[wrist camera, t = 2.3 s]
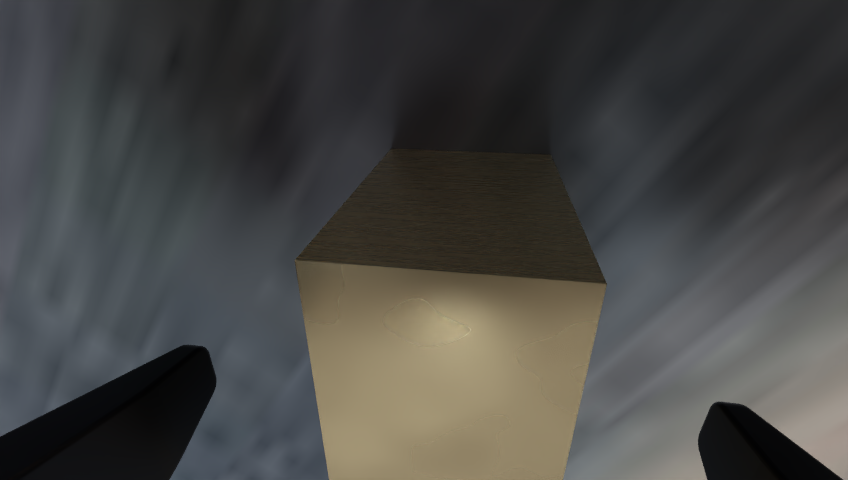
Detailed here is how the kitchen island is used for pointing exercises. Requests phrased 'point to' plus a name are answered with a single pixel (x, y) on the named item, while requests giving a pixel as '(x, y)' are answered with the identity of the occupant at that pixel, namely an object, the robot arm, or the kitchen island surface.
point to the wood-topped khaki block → (451, 319)
